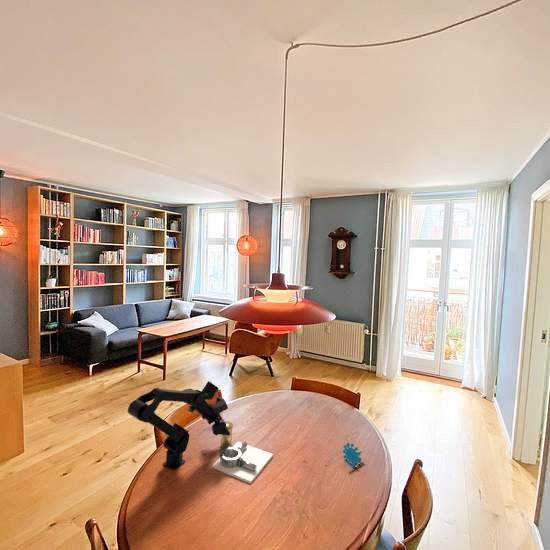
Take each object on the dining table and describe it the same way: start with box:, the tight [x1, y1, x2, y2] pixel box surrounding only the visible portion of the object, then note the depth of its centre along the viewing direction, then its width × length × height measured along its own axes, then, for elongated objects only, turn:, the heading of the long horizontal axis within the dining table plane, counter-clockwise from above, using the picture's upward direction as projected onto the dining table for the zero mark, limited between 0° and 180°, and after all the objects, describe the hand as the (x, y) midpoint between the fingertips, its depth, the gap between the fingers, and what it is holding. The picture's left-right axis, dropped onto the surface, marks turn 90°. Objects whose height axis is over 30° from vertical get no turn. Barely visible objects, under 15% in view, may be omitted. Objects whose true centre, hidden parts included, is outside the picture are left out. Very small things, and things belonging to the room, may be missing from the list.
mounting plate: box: [211, 441, 274, 485], centre depth 136 cm, size 20×18×1 cm
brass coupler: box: [220, 421, 233, 449], centre depth 147 cm, size 5×5×10 cm
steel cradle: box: [219, 441, 257, 472], centre depth 136 cm, size 16×16×4 cm
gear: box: [341, 442, 362, 468], centre depth 141 cm, size 11×6×10 cm
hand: (227, 429), depth 147 cm, fingers open, 9 cm apart
